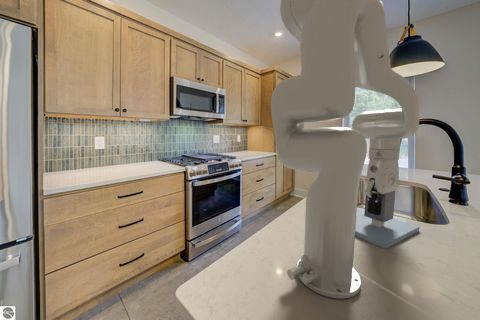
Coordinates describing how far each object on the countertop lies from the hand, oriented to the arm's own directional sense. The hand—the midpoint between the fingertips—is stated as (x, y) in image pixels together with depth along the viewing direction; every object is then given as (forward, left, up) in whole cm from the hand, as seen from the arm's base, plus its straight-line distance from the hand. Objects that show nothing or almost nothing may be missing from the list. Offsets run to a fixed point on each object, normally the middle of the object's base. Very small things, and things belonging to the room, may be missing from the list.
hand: (379, 211), depth 63 cm
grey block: (0, 0, -2) cm, 2 cm away
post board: (0, 0, -6) cm, 6 cm away
